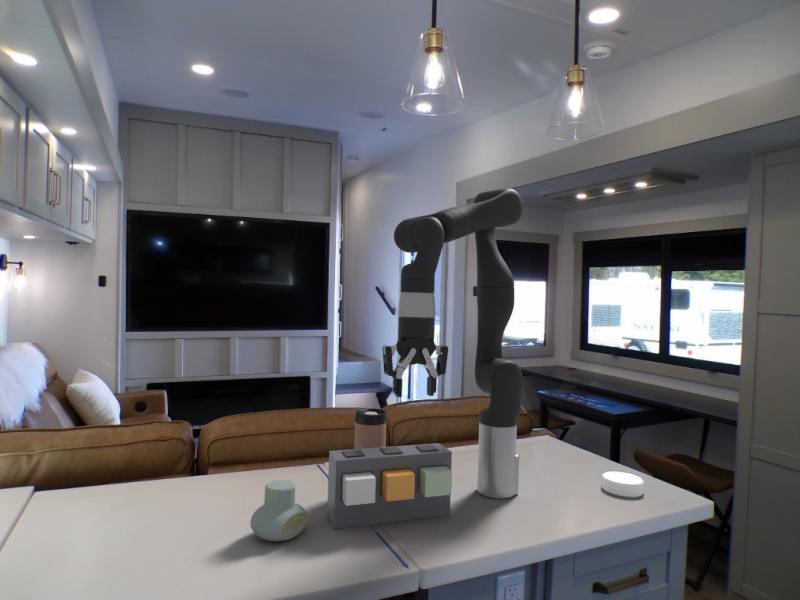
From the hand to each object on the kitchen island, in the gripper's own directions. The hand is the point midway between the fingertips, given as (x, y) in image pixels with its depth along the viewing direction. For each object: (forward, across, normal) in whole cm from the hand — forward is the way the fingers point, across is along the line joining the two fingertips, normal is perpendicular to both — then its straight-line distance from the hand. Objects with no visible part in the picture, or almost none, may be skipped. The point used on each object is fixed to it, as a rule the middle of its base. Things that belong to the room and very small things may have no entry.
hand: (414, 395), depth 106 cm
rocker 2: (+22, -7, -4) cm, 23 cm away
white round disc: (+28, -61, -7) cm, 68 cm away
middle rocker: (+22, +2, -5) cm, 22 cm away
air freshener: (+28, +26, -5) cm, 38 cm away
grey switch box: (+28, +2, -8) cm, 29 cm away
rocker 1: (+22, +10, -4) cm, 24 cm away
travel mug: (+28, +3, -21) cm, 35 cm away
